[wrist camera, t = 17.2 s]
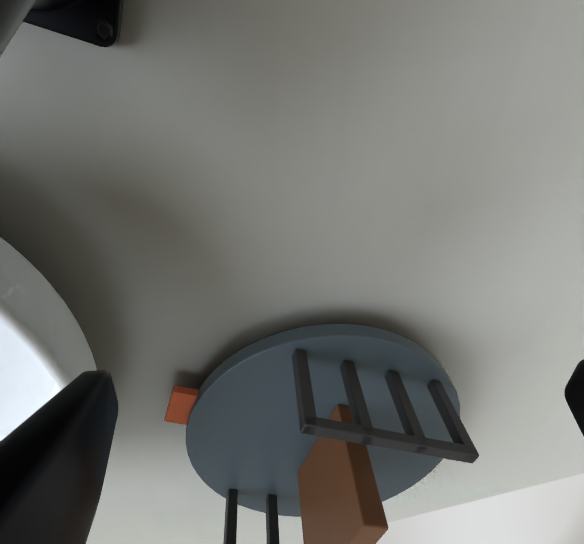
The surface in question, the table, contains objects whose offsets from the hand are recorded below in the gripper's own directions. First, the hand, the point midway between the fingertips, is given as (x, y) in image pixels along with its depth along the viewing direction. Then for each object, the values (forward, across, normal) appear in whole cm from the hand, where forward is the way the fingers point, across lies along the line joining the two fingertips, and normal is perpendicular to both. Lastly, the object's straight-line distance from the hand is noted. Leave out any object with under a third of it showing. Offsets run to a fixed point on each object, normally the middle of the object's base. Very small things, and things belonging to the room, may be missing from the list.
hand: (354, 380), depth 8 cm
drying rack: (+11, -2, +15) cm, 18 cm away
